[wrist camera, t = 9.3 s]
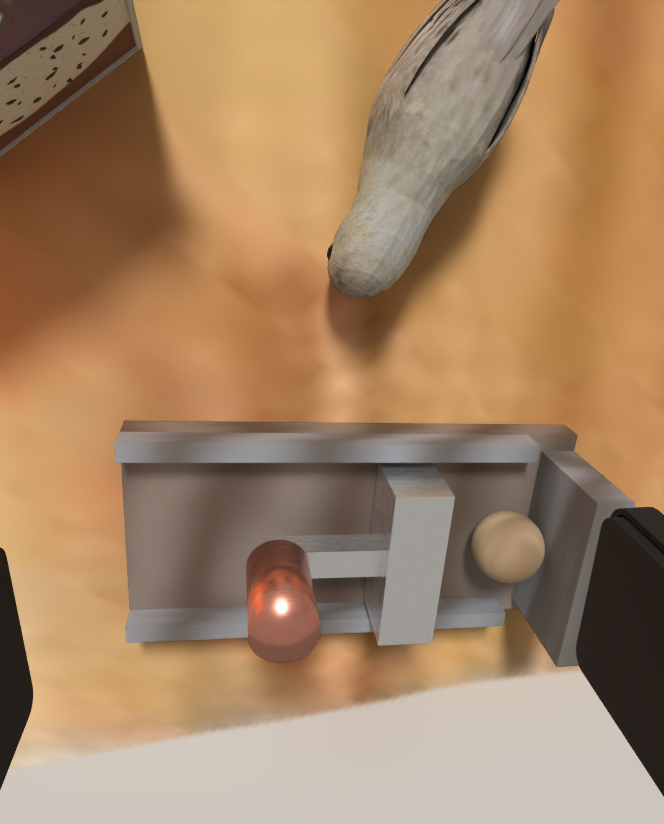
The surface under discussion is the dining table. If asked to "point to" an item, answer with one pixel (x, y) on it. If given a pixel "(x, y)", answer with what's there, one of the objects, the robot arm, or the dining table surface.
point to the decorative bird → (434, 130)
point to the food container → (57, 56)
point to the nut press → (356, 520)
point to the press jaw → (357, 568)
